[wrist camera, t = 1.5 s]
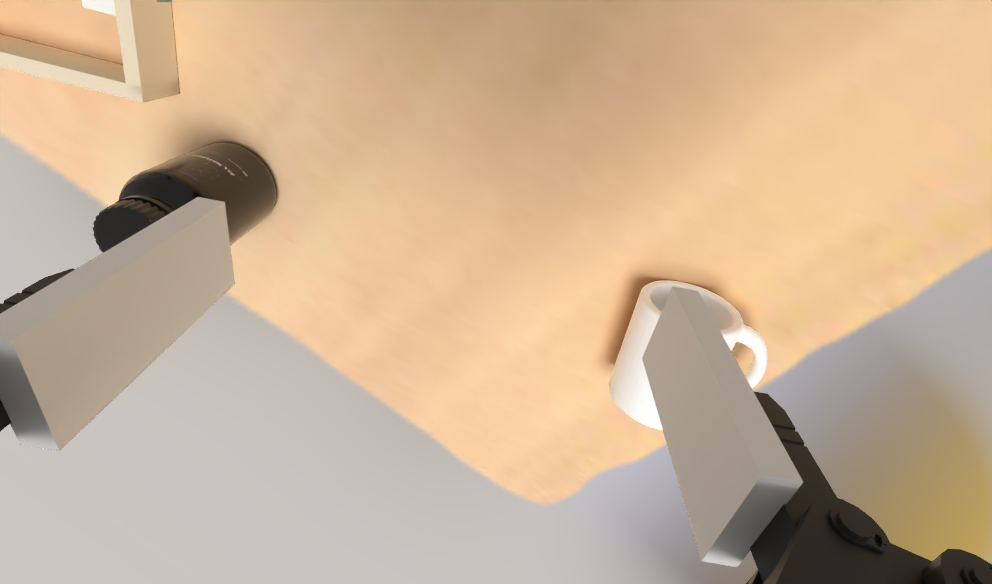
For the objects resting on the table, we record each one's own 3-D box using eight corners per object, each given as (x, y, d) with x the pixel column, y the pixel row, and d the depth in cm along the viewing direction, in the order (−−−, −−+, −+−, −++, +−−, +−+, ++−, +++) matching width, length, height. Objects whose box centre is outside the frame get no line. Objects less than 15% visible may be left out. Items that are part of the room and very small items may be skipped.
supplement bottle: (260, 134, 38) (158, 183, 27) (291, 217, 41) (211, 288, 31) (179, 145, 39) (50, 197, 28) (215, 225, 42) (113, 298, 32)
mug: (602, 363, 47) (615, 424, 40) (632, 272, 42) (653, 325, 35) (724, 382, 47) (757, 446, 40) (769, 294, 42) (815, 351, 35)
